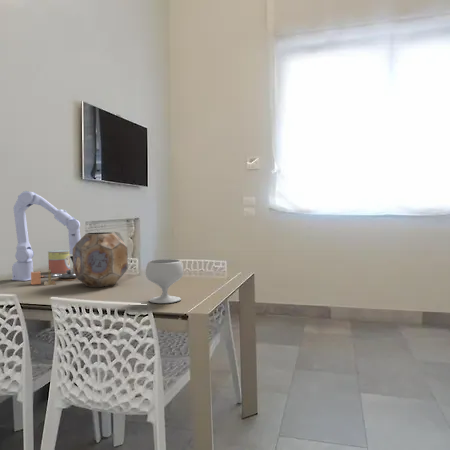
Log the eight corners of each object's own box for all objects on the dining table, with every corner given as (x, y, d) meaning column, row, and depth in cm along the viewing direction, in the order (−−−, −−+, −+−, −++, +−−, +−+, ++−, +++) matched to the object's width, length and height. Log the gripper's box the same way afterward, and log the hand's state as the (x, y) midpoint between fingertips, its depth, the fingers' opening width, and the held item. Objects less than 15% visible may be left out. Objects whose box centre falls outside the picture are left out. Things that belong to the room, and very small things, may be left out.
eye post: (43, 285, 199) (43, 272, 199) (44, 282, 208) (43, 269, 208) (55, 284, 201) (55, 271, 201) (55, 281, 210) (55, 268, 210)
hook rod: (31, 284, 200) (30, 272, 199) (31, 283, 204) (31, 271, 203) (61, 282, 205) (61, 271, 204) (61, 281, 208) (61, 269, 208)
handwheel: (63, 279, 210) (63, 270, 210) (54, 277, 217) (54, 269, 217) (82, 276, 217) (82, 268, 217) (73, 274, 224) (73, 266, 224)
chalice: (138, 303, 159) (138, 262, 158) (158, 296, 172) (157, 258, 171) (172, 306, 154) (172, 264, 153) (189, 298, 167) (189, 259, 166)
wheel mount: (52, 279, 214) (52, 278, 214) (68, 276, 225) (68, 275, 225) (69, 281, 210) (69, 279, 210) (85, 277, 220) (85, 276, 220)
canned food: (65, 273, 234) (65, 251, 234) (45, 274, 234) (44, 252, 234) (73, 270, 245) (72, 249, 245) (53, 271, 246) (53, 250, 245)
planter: (63, 288, 191) (61, 234, 190) (97, 279, 214) (96, 231, 213) (105, 290, 184) (104, 235, 183) (136, 281, 207) (135, 231, 206)
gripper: (85, 242, 214) (87, 270, 215) (81, 241, 227) (83, 267, 228) (70, 244, 211) (72, 271, 212) (66, 242, 224) (68, 268, 225)
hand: (77, 269), depth 219 cm, fingers closed, pressing on handwheel
